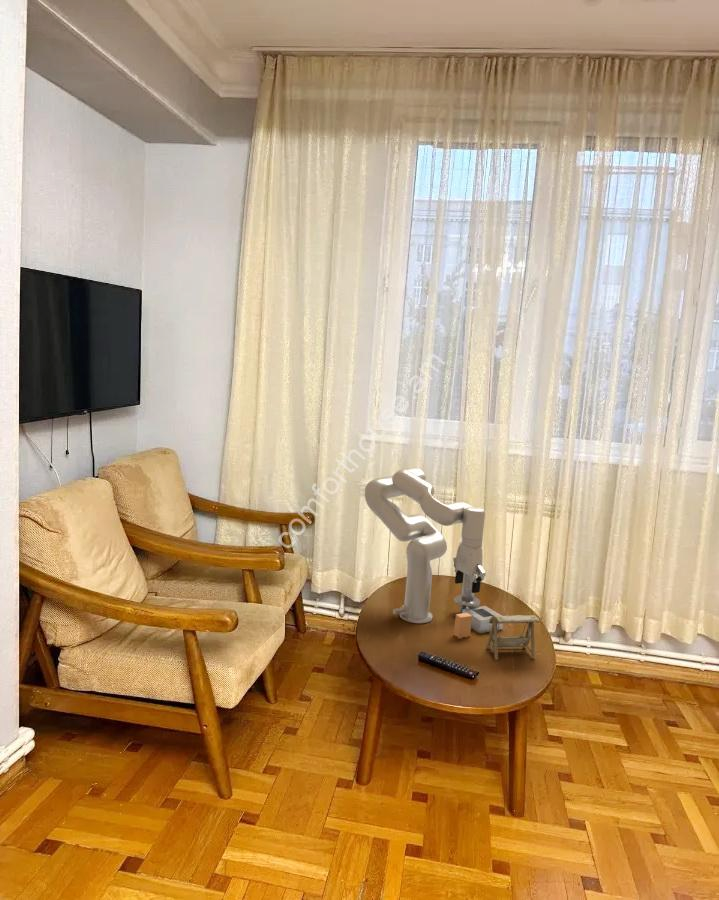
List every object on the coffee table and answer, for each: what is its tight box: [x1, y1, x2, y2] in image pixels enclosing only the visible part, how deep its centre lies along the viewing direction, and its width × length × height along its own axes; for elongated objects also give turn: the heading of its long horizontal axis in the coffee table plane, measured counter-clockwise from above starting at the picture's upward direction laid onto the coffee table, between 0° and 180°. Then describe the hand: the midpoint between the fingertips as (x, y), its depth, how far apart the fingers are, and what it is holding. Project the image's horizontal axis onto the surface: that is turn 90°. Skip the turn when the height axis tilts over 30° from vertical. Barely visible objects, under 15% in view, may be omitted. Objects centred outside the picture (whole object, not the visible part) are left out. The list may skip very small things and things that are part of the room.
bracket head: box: [453, 573, 504, 634], centre depth 261 cm, size 11×20×20 cm, turn 28°
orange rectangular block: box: [453, 613, 472, 639], centre depth 248 cm, size 3×5×8 cm, turn 118°
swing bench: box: [485, 614, 541, 661], centre depth 235 cm, size 15×10×15 cm, turn 100°
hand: (467, 587), depth 246 cm, fingers open, 9 cm apart
